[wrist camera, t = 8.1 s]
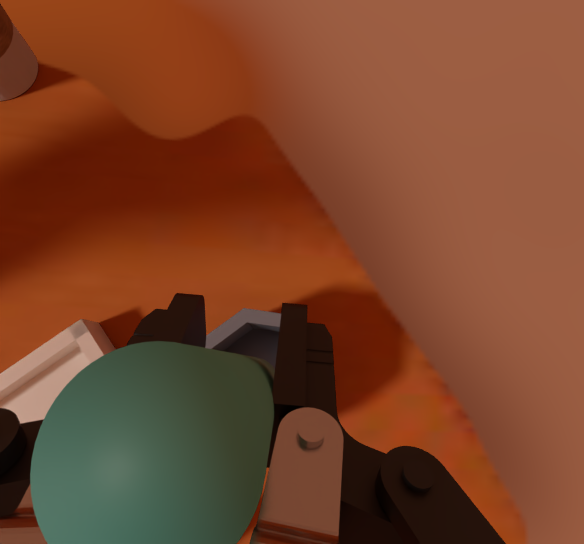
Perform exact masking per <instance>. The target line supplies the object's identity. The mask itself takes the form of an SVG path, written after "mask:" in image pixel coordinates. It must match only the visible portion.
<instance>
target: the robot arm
mask: <svg viewBox="0 0 584 544" xmlns="http://www.w3.org/2000/svg"><path fill="white" fill-rule="evenodd" d="M153 341H165V342H176V343H181V344H187V345H192V346H198V347H203V348H205V346H206V322H205V302H204V297H203V295H193V294H182V293H177V294H175V296H174V298H173V300H172V301H171V303H170V305H169V307H168V309H167V310H163V309H155V310H154V311H152V312H151V313H150V314H149V315H147V316H146V317H145V318H143V319H142V320H141V322H140V323H139V325H138V327H137V328H136V330H135V332H134V335H133V336H132V337H131V338H130V340H129V342H128V344H127V346H128V345H132V344H137V343H142V342H153ZM272 396H273V403H274V422H273V428H272V435H271V441H270V448H269V454H268V461H267V467H268V468H269V472H268V477H267V481H266V486H265V490H264V495H263V499H262V504H261V508H260V513H259V517H258V521H257V524H256V527H255V528H254V530H253V533H252V537H251V540H250V544H506V543H505V542H504V541H503V540H502V538H501V537H500V536H499V535H498V533H497V532H496V531H495V530H494V528H493V527H492V526H491V525H490V523H489V522H488V521H487V520H486V518H485V517H484V516H483V515H482V513H481V512H480V511H479V510H478V508H477V507H476V506H475V505H474V503H473V502H472V501H471V500H470V498H469V497H468V496H467V495H466V493H465V492H464V491H463V490H462V488H461V487H460V486H459V485H458V483H457V482H456V481H455V480H454V478H453V477H452V476H451V475H450V473H449V472H448V471H447V470H446V468H445V467H444V466H443V465H442V464H441V463H440V462H439V461H438V460H437V459H436V458H435V457H434V456H432V455H431V454H429V453H428V452H426V451H424V450H422V449H419V448H416V447H411V446H401V447H397V448H394V449H392V450H390V451H389V452H388V453H387V454H385V453H383V452H380V451H378V450H375V449H373V448H370V447H368V446H365V445H363V444H361V443H359V442H358V441H356V440H355V439H353V438H352V437H351V436H350V435H349V434H348V433H347V432H346V431H345V430H344V428H343V427H342V425H341V424H340V422H339V419H338V416H337V407H336V392H335V376H334V360H333V344H332V336H331V335H330V333H329V332H328V330H327V328H326V327H325V325H324V324H315V323H307V305H301V304H290V303H282V311H281V320H280V329H279V338H278V347H277V356H276V364H275V373H274V382H273V391H272ZM43 420H44V419H43ZM43 420H37V421H32V422H26V423H21V424H20V421H19V419H18V417H17V415H16V414H15V413H14V412H12V411H11V410H8V409H5V408H0V544H48V543H47V542H46V540H45V538H44V536H43V534H42V532H41V529H40V527H39V525H38V522H37V519H36V515H35V512H34V509H33V503H32V497H31V484H30V472H31V461H32V455H33V450H34V446H35V441H36V439H37V436H38V433H39V430H40V427H41V425H42V422H43Z"/></svg>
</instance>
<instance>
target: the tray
mask: <svg viewBox="0 0 584 544" xmlns="http://www.w3.org/2000/svg"><path fill="white" fill-rule="evenodd" d="M114 350H116V349H115V348H114V346H113V344H112V343H111V341H110V340H109V338H108V337H107V335H106V333H105V332H104V330H103V329H102V327H101V326H100V324H99V323H98V322H93V321H89V320H84V319H80V320H79V321H77V322H76V323H74V324H73V325H71V326H70V327H68V328H67V329H65V330H64V331H62V332H61V333H60V334H58V335H57V336H55V337H54V338H52V339H51V340H49V341H48V342H46V343H45V344H43V345H42V346H40V347H39V348H37V349H36V350H35V351H33V352H32V353H30V354H29V355H27V356H26V357H24V358H23V359H21V360H20V361H18V362H17V363H15V364H14V365H13V366H11V367H10V368H8V369H7V370H5V371H4V372H2V373H1V374H0V408H5V409H8V410H11V411H12V412H14V413H15V414H16V415H17V417H18V419H19V421H20V424H21V423H26V422H32V421H37V420H43V419H44V418H45V416H46V414H47V412H48V410H49V409H50V407H51V405H52V404H53V402H54V400H55V399H56V397H57V396H58V395H59V393H60V392H61V391H62V390H63V388H64V387H65V386H66V385H67V384H68V383H69V382H70V381H71V380H72V379H73V378H74V377H75V376H76V375H77V374H78V373H79V372H80V371H81V370H83V369H84V368H85V367H86V366H88V365H89V364H90V363H92V362H93V361H95V360H97V359H98V358H100V357H102V356H103V355H105V354H108V353H110V352H112V351H114Z"/></svg>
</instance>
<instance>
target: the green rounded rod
mask: <svg viewBox="0 0 584 544" xmlns="http://www.w3.org/2000/svg"><path fill="white" fill-rule="evenodd" d="M274 373H275V369H274V367H273V366H272V365H271V364H270V363H269V362H267V361H266V360H264V359H261V358H257V357H252V356H246V355H241V354H236V353H230V352H225V351H219V350H214V349H208V348H203V347H198V346H192V345H187V344H181V343H176V342H165V341H153V342H142V343H137V344H132V345H128V346H125V347H122V348H119V349H116V350H114V351H112V352H110V353H108V354H105V355H103V356H102V357H100V358H98V359H97V360H95V361H93V362H92V363H90V364H89V365H88V366H86V367H85V368H84V369H83V370H81V371H80V372H79V373H78V374H77V375H76V376H75V377H74V378H73V379H72V380H71V381H70V382H69V383H68V384H67V385H66V386H65V387H64V388H63V390H62V391H61V392H60V393H59V395H58V396H57V397H56V399H55V400H54V402H53V404H52V405H51V407H50V409H49V410H48V412H47V414H46V416H45V418H44V420H43V422H42V425H41V427H40V430H39V433H38V436H37V439H36V441H35V446H34V450H33V455H32V461H31V472H30V484H31V497H32V503H33V509H34V512H35V515H36V519H37V522H38V525H39V527H40V529H41V532H42V534H43V536H44V538H45V540H46V542H47V543H48V544H236V543H237V542H238V541H239V540H240V538H241V537H242V535H243V533H244V532H245V530H246V529H247V527H248V525H249V524H250V521H251V519H252V517H253V515H254V513H255V511H256V508H257V505H258V502H259V499H260V496H261V493H262V489H263V484H264V479H265V474H266V467H267V461H268V454H269V448H270V441H271V435H272V428H273V422H274V403H273V396H272V391H273V382H274Z"/></svg>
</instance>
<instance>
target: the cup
mask: <svg viewBox="0 0 584 544" xmlns="http://www.w3.org/2000/svg"><path fill="white" fill-rule="evenodd" d="M280 320H281V313H273V312H266V311H259V310H252V309H245V308H243V309H242V310H241V311H240V312H238V313H237V314H235V315H234V316H233V317H231V318H230V319H229V320H227V321H226V322H224V323H223V324H222V325H220V326H219V327H218V328H216V329H215V330H214V331H212V332H211V333H209V334H208V335H207V336H206V346H205V348H208V349H214V350H219V351H225V352H230V353H236V354H241V355H246V356H252V357H257V358H261V359H264V360H266V361H267V362H269V363H270V364H271V365H272V366H273V367H274V369H275V364H276V356H277V347H278V338H279V329H280Z"/></svg>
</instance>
